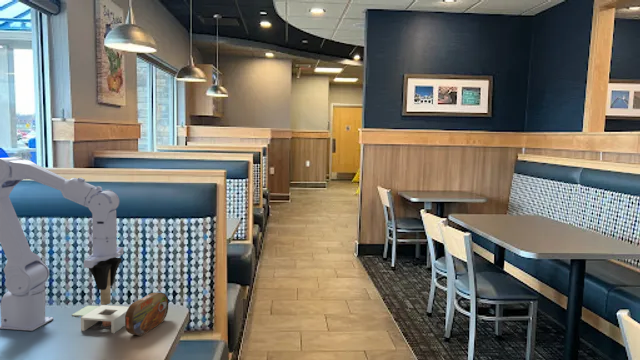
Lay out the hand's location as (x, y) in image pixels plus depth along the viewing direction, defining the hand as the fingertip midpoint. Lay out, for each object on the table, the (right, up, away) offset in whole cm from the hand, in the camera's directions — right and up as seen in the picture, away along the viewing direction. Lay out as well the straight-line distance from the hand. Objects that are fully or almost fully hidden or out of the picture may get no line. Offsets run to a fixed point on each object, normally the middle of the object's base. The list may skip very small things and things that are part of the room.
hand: (105, 287), depth 118 cm
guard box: (+1, -10, 0) cm, 10 cm away
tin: (+12, -11, -1) cm, 16 cm away
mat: (-8, -9, +8) cm, 15 cm away
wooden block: (0, -4, 0) cm, 4 cm away
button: (+1, -10, 0) cm, 10 cm away
